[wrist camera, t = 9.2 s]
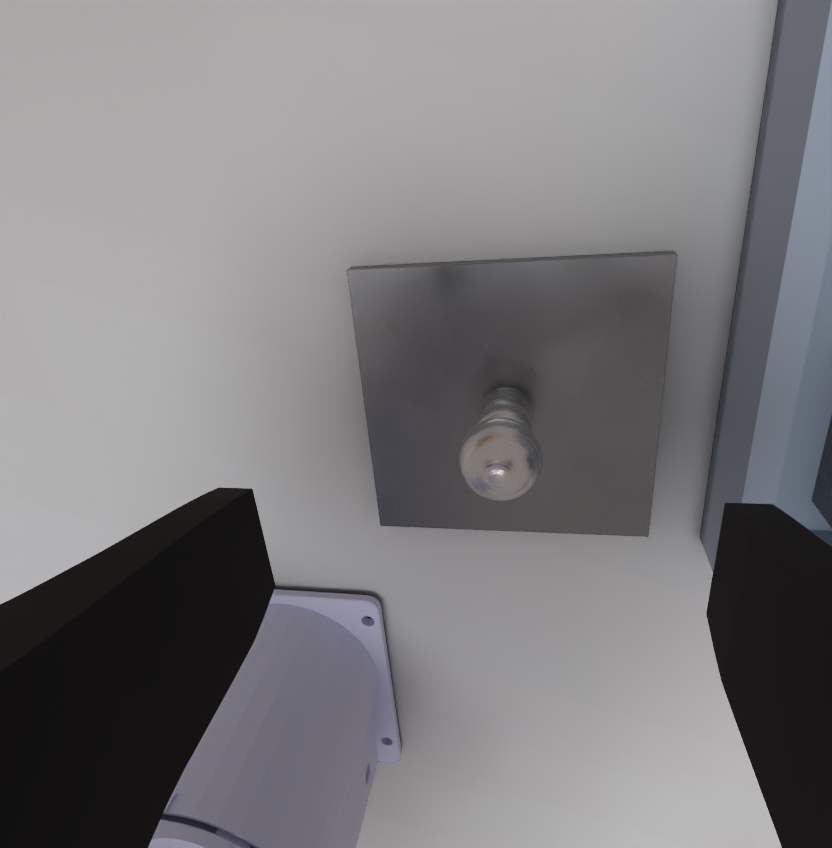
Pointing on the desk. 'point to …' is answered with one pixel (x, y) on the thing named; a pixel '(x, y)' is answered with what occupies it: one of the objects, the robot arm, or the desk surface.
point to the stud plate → (515, 390)
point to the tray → (782, 292)
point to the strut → (825, 480)
